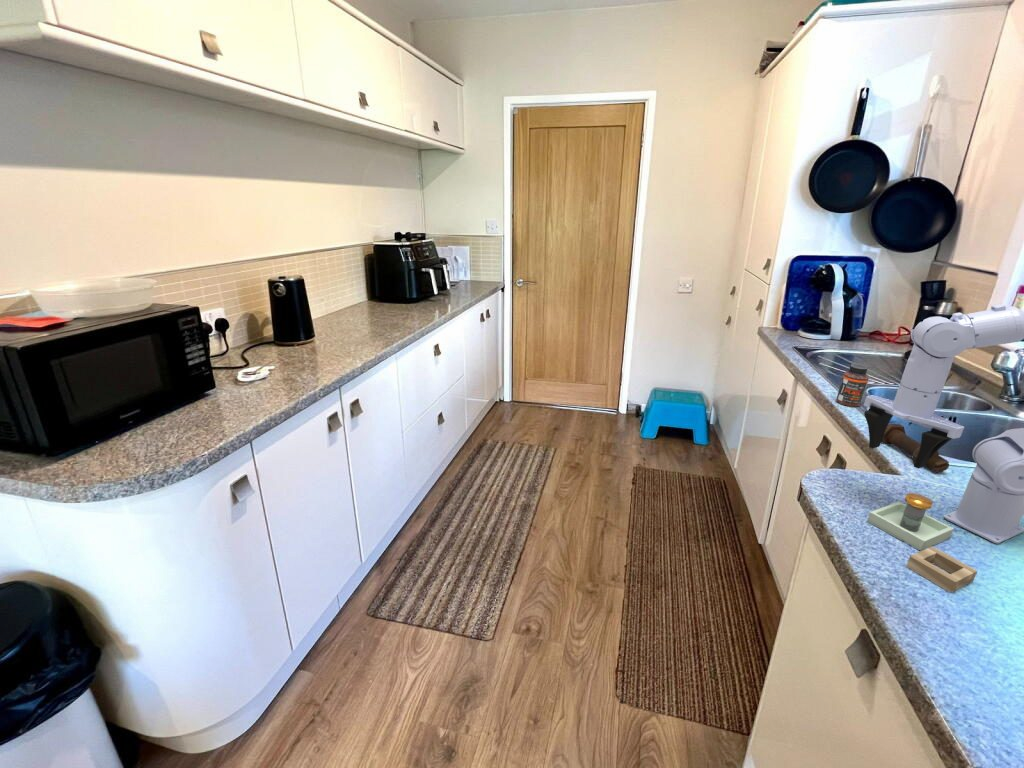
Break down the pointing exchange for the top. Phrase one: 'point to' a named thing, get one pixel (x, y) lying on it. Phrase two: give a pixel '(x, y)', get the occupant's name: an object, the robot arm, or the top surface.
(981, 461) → the robot arm
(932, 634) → the top surface
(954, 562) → the collar block
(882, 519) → the parts tray
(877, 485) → the top surface
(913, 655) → the top surface
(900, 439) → the bolt
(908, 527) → the pin
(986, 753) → the top surface
